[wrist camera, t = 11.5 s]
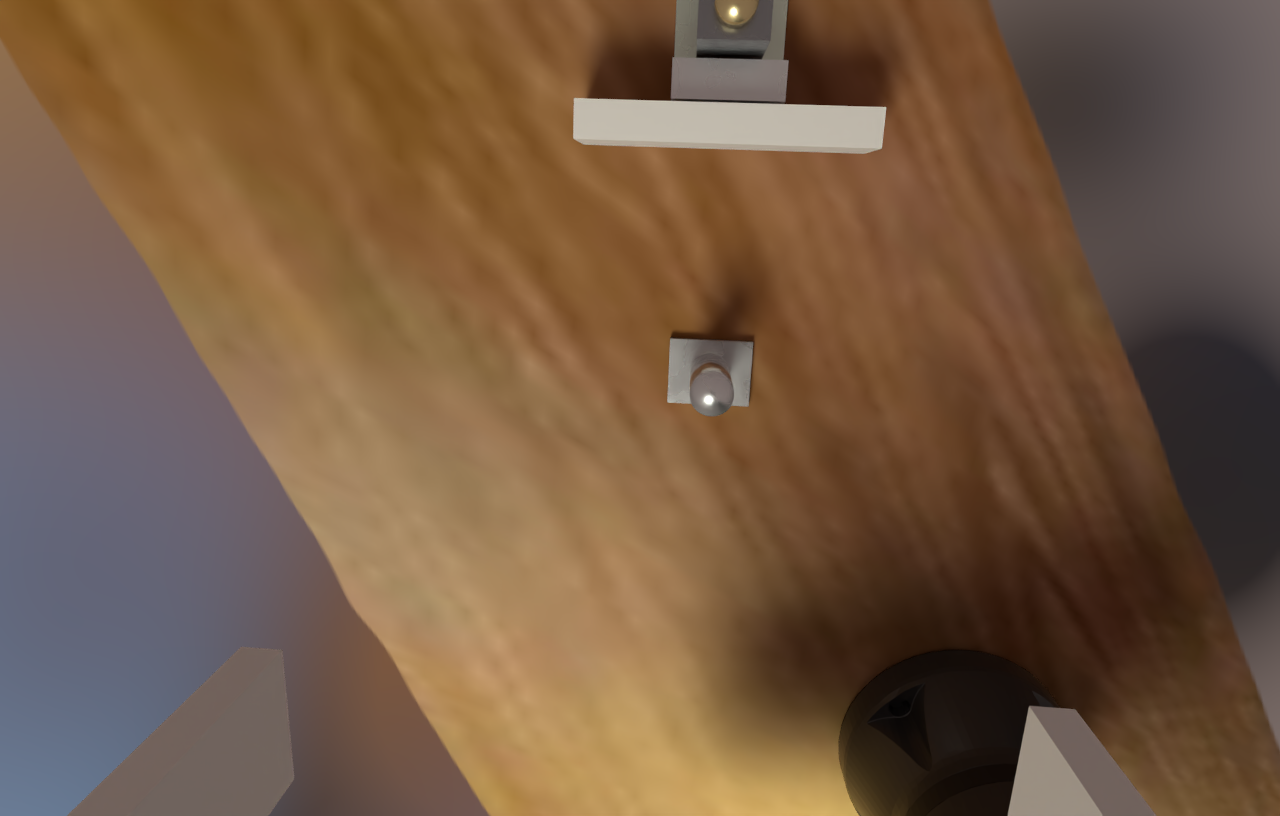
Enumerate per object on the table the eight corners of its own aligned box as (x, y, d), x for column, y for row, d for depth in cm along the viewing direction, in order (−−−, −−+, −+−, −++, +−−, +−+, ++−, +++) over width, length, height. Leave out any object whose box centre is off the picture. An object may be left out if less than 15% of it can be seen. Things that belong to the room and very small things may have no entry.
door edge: (864, 153, 43) (881, 148, 39) (583, 144, 44) (573, 138, 40) (868, 116, 42) (886, 107, 39) (584, 107, 43) (573, 98, 40)
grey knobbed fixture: (748, 404, 47) (755, 432, 41) (667, 400, 47) (664, 427, 42) (752, 341, 46) (761, 360, 40) (670, 337, 46) (667, 356, 41)
